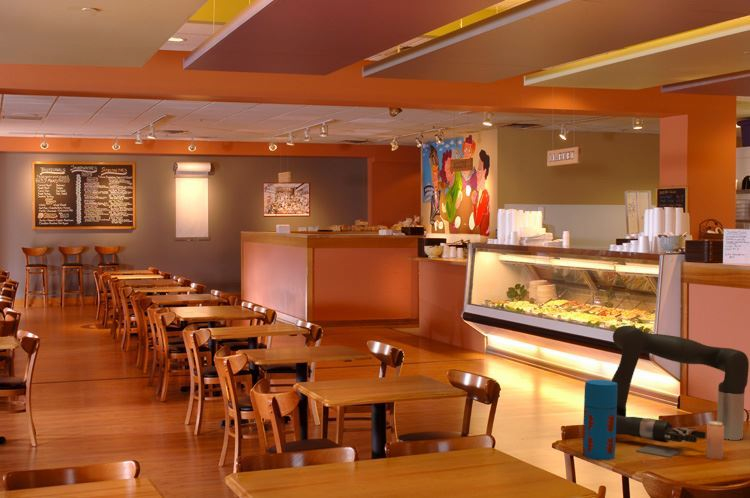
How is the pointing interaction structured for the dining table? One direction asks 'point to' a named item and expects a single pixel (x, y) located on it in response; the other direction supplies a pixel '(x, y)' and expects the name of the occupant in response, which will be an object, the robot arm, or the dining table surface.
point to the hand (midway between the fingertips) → (701, 437)
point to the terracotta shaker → (715, 440)
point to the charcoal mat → (659, 451)
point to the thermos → (600, 419)
